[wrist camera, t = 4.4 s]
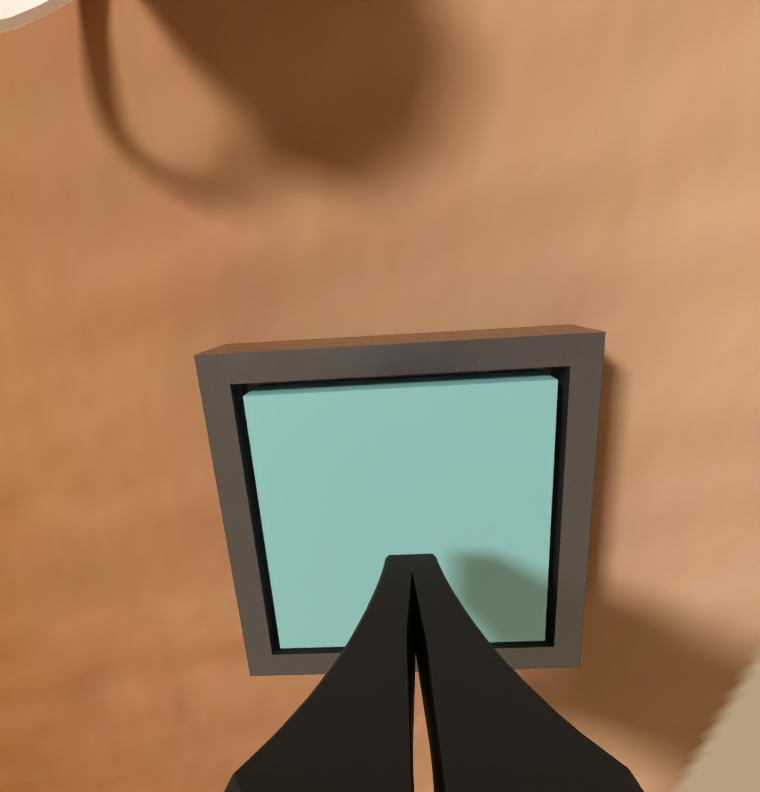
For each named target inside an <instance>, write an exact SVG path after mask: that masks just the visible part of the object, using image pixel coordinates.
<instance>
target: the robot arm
mask: <svg viewBox="0 0 760 792" xmlns="http://www.w3.org/2000/svg"><path fill="white" fill-rule="evenodd" d="M416 658H417V665H418V672H419V678H420V685H421V691H422V698H423V705H424V711H425V718H426V724H427V731H428V737H429V744H430V752H431V761H432V771H433V784H434V792H644V791H643V790H642V788H641V787H640V785H639V783H638V782H637V780H636V779H635V777H634V776H633V774H632V773H631V771H630V770H629V769H628V768H627V767H626V766H624V765H623V764H622V763H620V762H619V761H618V760H616V759H615V758H614V757H612V756H611V755H610V754H608V753H607V752H606V751H604V750H603V749H602V748H600V747H599V746H598V745H596V744H595V743H594V742H592V741H591V740H590V739H588V738H587V737H586V736H584V735H583V734H582V733H581V732H579V731H578V730H577V729H576V728H575V727H573V726H572V725H571V724H570V723H569V722H568V721H566V720H565V719H564V718H563V717H562V716H561V715H559V714H558V713H557V712H556V711H555V710H554V709H553V708H552V707H551V706H550V705H549V704H548V703H547V702H546V701H544V700H543V699H542V698H541V697H540V696H539V695H538V694H537V693H536V692H535V691H534V690H533V689H532V688H531V687H530V686H529V685H528V684H527V683H526V682H525V681H524V680H523V679H522V678H521V677H520V676H519V675H518V674H517V673H516V672H515V671H514V670H513V669H512V668H511V667H510V666H509V664H508V663H507V662H506V661H505V660H504V659H503V658H502V657H501V655H500V654H499V653H498V652H497V651H496V650H495V648H494V647H493V646H492V645H491V644H490V642H489V641H488V640H487V639H486V637H485V636H484V635H483V634H482V632H481V631H480V630H479V628H478V627H477V625H476V624H475V623H474V621H473V620H472V619H471V617H470V616H469V614H468V613H467V611H466V610H465V609H464V607H463V605H462V604H461V602H460V601H459V599H458V598H457V596H456V595H455V593H454V591H453V590H452V588H451V586H450V585H449V583H448V581H447V579H446V577H445V575H444V573H443V572H442V569H441V567H440V565H439V563H438V560H437V558H436V556H435V555H433V554H403V555H388V556H387V557H386V558H385V562H384V566H383V570H382V573H381V576H380V579H379V581H378V584H377V586H376V589H375V591H374V593H373V595H372V598H371V600H370V602H369V604H368V606H367V608H366V610H365V612H364V614H363V616H362V618H361V620H360V622H359V623H358V625H357V627H356V629H355V631H354V633H353V634H352V636H351V638H350V639H349V641H348V643H347V644H346V646H345V647H344V649H343V651H342V652H341V654H340V655H339V656H338V658H337V659H336V661H335V662H334V664H333V665H332V667H331V668H330V669H329V671H328V672H327V673H326V675H325V676H324V677H323V679H322V680H321V681H320V683H319V684H318V685H317V687H316V688H315V689H314V690H313V692H312V693H311V694H310V695H309V697H308V698H307V699H306V700H305V701H304V702H303V704H302V705H301V706H300V707H299V708H298V709H297V710H296V711H295V713H294V714H293V715H292V716H291V717H290V718H289V719H288V720H287V721H286V723H285V724H284V725H283V726H282V727H281V728H280V729H279V730H278V731H277V732H276V733H275V734H274V735H273V737H272V738H271V739H269V740H268V741H267V742H266V743H265V744H264V745H263V746H262V747H261V748H260V749H259V750H258V751H257V752H256V753H255V754H254V755H253V756H252V757H251V758H250V759H249V760H248V761H246V762H245V763H244V764H243V765H242V766H241V767H240V768H239V769H238V770H237V771H236V772H235V773H234V774H233V775H232V777H231V779H230V781H229V783H228V785H227V787H226V789H225V791H224V792H414V777H413V726H414V693H415V659H416Z"/></svg>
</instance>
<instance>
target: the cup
mask: <svg viewBox="0 0 760 792" xmlns="http://www.w3.org/2000/svg"><path fill="white" fill-rule="evenodd" d="M72 1H73V0H0V33H3V32H9V31H13V30H15V29H17V28H20V27H22V26H24V25H26V24H29V23H31V22H33V21H35V20H37V19H40V18H42V17H44V16H46V15H47V14H49V13H51V12H53V11H55V10H57V9H59V8H61V7H63V6H65V5H66V4H68V3H70V2H72Z"/></svg>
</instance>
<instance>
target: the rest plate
mask: <svg viewBox="0 0 760 792" xmlns="http://www.w3.org/2000/svg"><path fill="white" fill-rule="evenodd" d="M557 391H558V380H557V379H556V378H554V377H552V376H550V375H548V374H547V373H545V372H543V371H541V370H540V371H522V372H503V373H484V374H466V375H447V376H428V377H410V378H391V379H372V380H354V381H335V382H316V383H298V384H279V385H260V386H256V387H255V388H254V389H252V390H251V391H250V392H248V393H247V394H245V395H244V396H243V400H244V407H245V414H246V421H247V427H248V434H249V441H250V447H251V454H252V461H253V468H254V474H255V481H256V488H257V494H258V501H259V508H260V515H261V521H262V528H263V535H264V541H265V548H266V555H267V562H268V568H269V575H270V582H271V588H272V595H273V602H274V609H275V615H276V622H277V629H278V635H279V642H280V648H311V647H345V646H346V644H347V643H348V641H349V639H350V638H351V636H352V634H353V633H354V631H355V629H356V627H357V625H358V623H359V622H360V620H361V618H362V616H363V614H364V612H365V610H366V608H367V606H368V604H369V602H370V600H371V598H372V595H373V593H374V591H375V589H376V586H377V584H378V581H379V579H380V576H381V573H382V570H383V566H384V562H385V558H386V557H387V556H388V555H403V554H433V555H435V556H436V558H437V560H438V563H439V565H440V567H441V569H442V572H443V573H444V575H445V577H446V579H447V581H448V583H449V585H450V586H451V588H452V590H453V591H454V593H455V595H456V596H457V598H458V599H459V601H460V602H461V604H462V605H463V607H464V609H465V610H466V611H467V613H468V614H469V616H470V617H471V619H472V620H473V621H474V623H475V624H476V625H477V627H478V628H479V630H480V631H481V632H482V634H483V635H484V636H485V637H486V639H487V640H488V641H489V642H516V641H545V628H546V608H547V588H548V569H549V549H550V529H551V509H552V490H553V470H554V450H555V430H556V410H557Z"/></svg>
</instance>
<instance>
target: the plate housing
mask: <svg viewBox="0 0 760 792" xmlns="http://www.w3.org/2000/svg"><path fill="white" fill-rule="evenodd" d="M605 333H606V332H604V331H599V330H594V329H589V328H584V327H580V326H575V325H557V326H539V327H522V328H505V329H487V330H470V331H452V332H435V333H418V334H400V335H383V336H366V337H348V338H331V339H313V340H296V341H279V342H261V343H244V344H227V345H222V346H219V347H216V348H213V349H211V350H208V351H205V352H202V353H199V354H196V355H194V358H195V363H196V369H197V375H198V381H199V386H200V392H201V398H202V403H203V409H204V415H205V420H206V426H207V432H208V438H209V443H210V449H211V455H212V460H213V466H214V472H215V477H216V483H217V489H218V495H219V500H220V506H221V512H222V517H223V523H224V529H225V534H226V540H227V546H228V552H229V557H230V563H231V569H232V574H233V580H234V586H235V591H236V597H237V603H238V609H239V614H240V620H241V626H242V631H243V637H244V643H245V649H246V654H247V660H248V666H249V671H250V676H270V675H307V674H326V673H327V672H328V671H329V669H330V668H331V667H332V665H333V664H334V662H335V661H336V659H337V658H338V656H339V655H340V654H341V652H342V651H343V649H344V647H311V648H280V642H279V635H278V629H277V622H276V615H275V609H274V602H273V595H272V588H271V582H270V575H269V568H268V562H267V555H266V548H265V541H264V535H263V528H262V521H261V515H260V508H259V501H258V494H257V488H256V481H255V474H254V468H253V461H252V454H251V447H250V441H249V434H248V427H247V421H246V414H245V407H244V400H243V396H244V395H245V394H247V393H248V392H250V391H251V390H252V389H254V388H255V387H256V386H260V385H279V384H298V383H316V382H335V381H354V380H372V379H391V378H410V377H428V376H447V375H466V374H484V373H503V372H522V371H540V370H541V371H543V372H545V373H547V374H548V375H550V376H552V377H554V378H556V379H557V380H558V391H557V410H556V430H555V450H554V470H553V490H552V509H551V529H550V549H549V569H548V588H547V608H546V628H545V641H516V642H490V644H491V645H492V646H493V647H494V648H495V650H496V651H497V652H498V653H499V654H500V655H501V657H502V658H503V659H504V660H505V661H506V662H507V663H508V664H509V666H510V667H511V668H512V669H532V668H569V667H579V666H580V653H581V640H582V627H583V615H584V602H585V589H586V576H587V563H588V551H589V538H590V525H591V512H592V499H593V486H594V474H595V461H596V448H597V435H598V422H599V410H600V397H601V384H602V371H603V358H604V345H605ZM415 672H418V665H417V658H416V659H415Z"/></svg>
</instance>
